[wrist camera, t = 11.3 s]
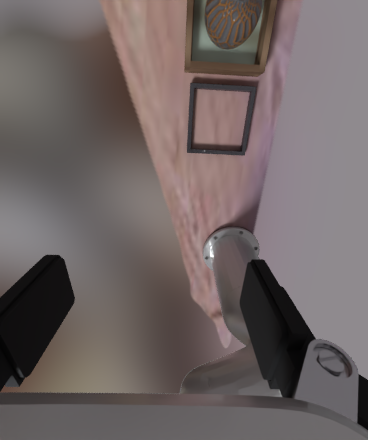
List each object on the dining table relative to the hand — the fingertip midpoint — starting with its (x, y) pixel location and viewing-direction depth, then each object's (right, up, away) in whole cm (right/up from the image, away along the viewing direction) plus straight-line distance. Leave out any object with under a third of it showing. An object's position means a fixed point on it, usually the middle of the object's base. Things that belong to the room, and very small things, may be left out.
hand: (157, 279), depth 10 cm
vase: (+7, +31, +18) cm, 37 cm away
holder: (+8, +31, +19) cm, 37 cm away
